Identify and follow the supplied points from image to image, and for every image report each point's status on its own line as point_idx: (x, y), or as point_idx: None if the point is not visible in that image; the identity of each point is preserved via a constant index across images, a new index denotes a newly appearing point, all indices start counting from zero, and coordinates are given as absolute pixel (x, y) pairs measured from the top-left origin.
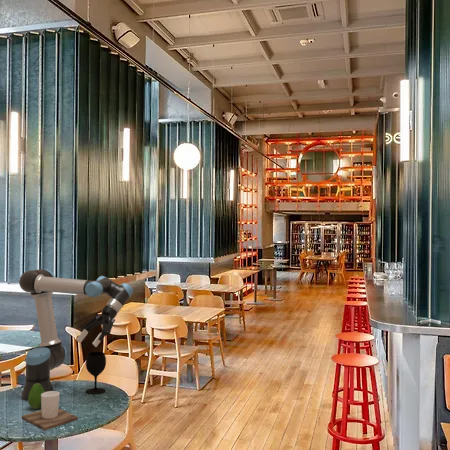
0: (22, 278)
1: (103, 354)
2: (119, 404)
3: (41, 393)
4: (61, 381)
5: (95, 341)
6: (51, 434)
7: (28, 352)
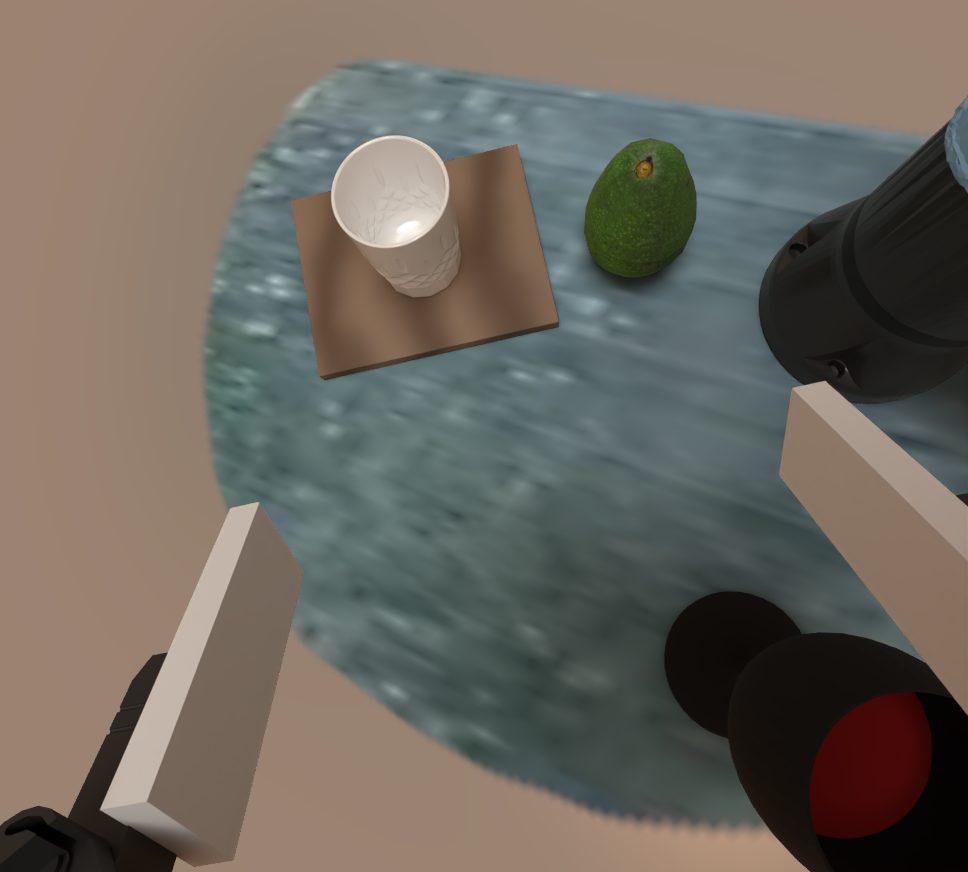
0: None
1: None
2: (396, 675)
3: (597, 214)
4: None
5: (216, 567)
6: (235, 221)
7: None
